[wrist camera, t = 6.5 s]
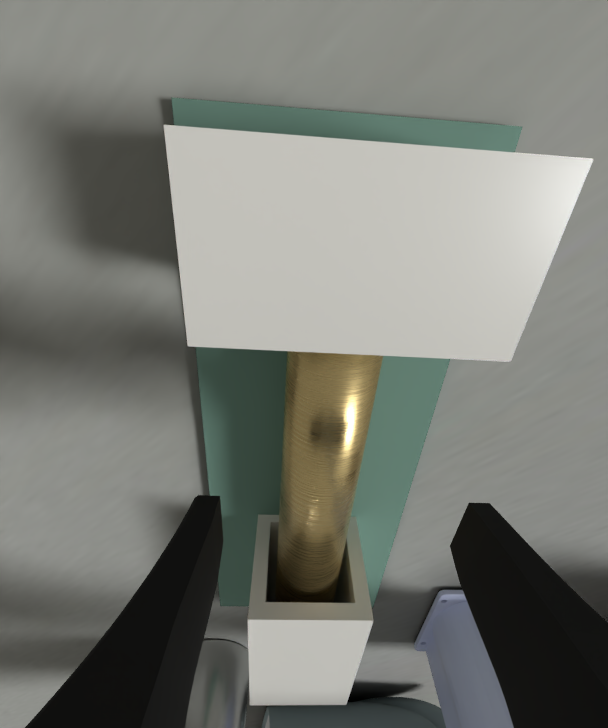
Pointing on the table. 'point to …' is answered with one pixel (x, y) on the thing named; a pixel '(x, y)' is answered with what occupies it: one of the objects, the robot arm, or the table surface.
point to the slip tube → (320, 467)
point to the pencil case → (357, 715)
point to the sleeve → (305, 629)
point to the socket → (362, 242)
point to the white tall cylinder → (219, 686)
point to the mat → (268, 367)
